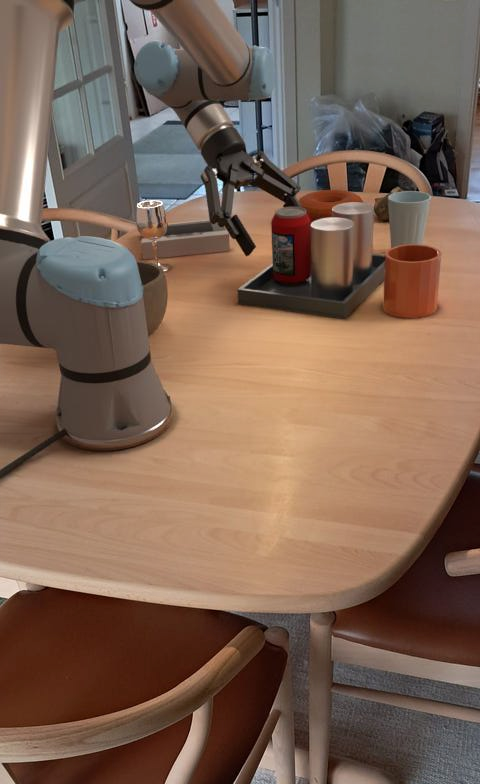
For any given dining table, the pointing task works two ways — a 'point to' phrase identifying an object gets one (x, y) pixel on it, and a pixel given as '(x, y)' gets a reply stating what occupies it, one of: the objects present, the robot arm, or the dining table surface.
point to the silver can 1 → (332, 258)
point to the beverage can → (291, 245)
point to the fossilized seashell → (384, 205)
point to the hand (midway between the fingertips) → (279, 241)
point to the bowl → (153, 293)
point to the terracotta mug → (411, 280)
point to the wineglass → (152, 223)
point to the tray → (306, 293)
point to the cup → (408, 217)
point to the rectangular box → (188, 240)
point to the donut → (325, 202)
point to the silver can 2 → (359, 236)
